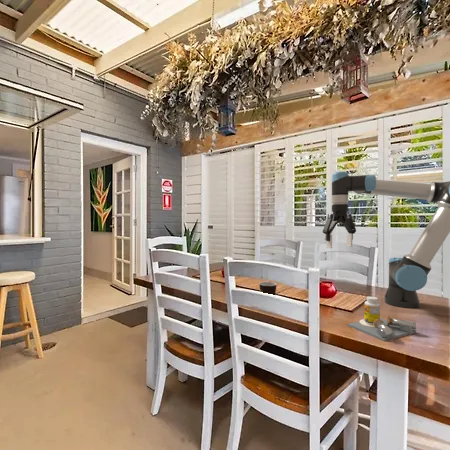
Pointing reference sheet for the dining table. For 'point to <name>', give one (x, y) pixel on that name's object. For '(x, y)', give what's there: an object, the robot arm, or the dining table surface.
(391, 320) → the shaft
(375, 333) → the coupling plate
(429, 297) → the dining table surface
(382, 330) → the shaft
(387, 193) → the robot arm
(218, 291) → the dining table surface
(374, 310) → the supplement bottle
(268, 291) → the coffee mug
